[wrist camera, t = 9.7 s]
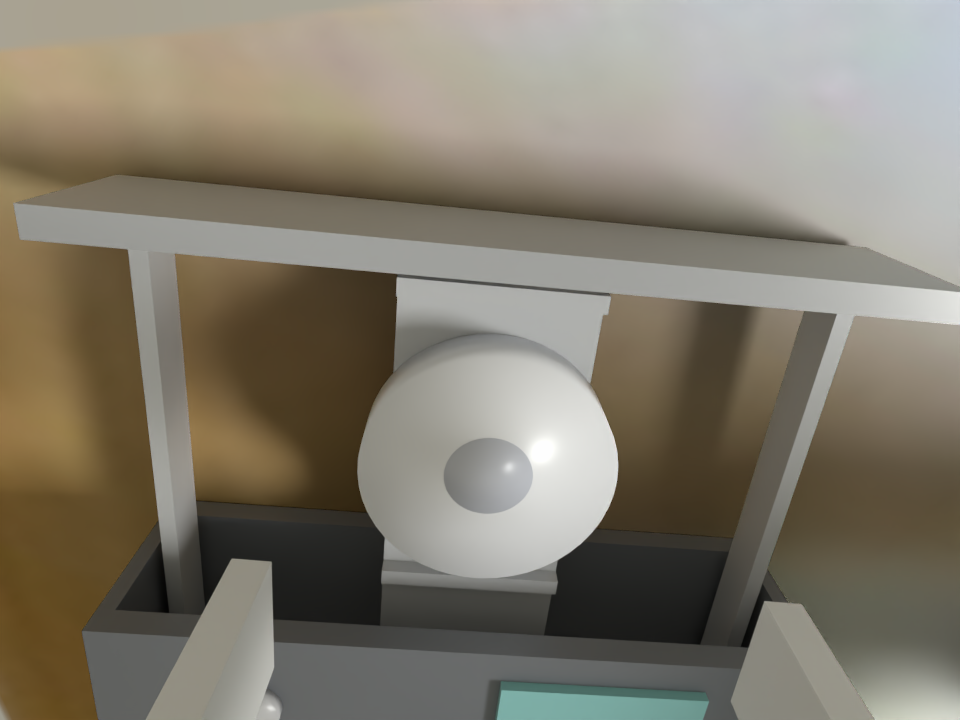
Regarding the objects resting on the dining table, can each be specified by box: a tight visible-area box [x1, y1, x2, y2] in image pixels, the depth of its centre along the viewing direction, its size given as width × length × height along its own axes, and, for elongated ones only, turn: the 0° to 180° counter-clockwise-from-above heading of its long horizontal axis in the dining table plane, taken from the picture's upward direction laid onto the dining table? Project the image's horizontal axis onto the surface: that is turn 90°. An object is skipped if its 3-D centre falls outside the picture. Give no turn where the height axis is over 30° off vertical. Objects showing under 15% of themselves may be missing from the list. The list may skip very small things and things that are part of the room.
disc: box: [357, 334, 618, 578], centre depth 18 cm, size 7×7×2 cm
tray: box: [13, 175, 960, 647], centre depth 20 cm, size 17×22×5 cm
